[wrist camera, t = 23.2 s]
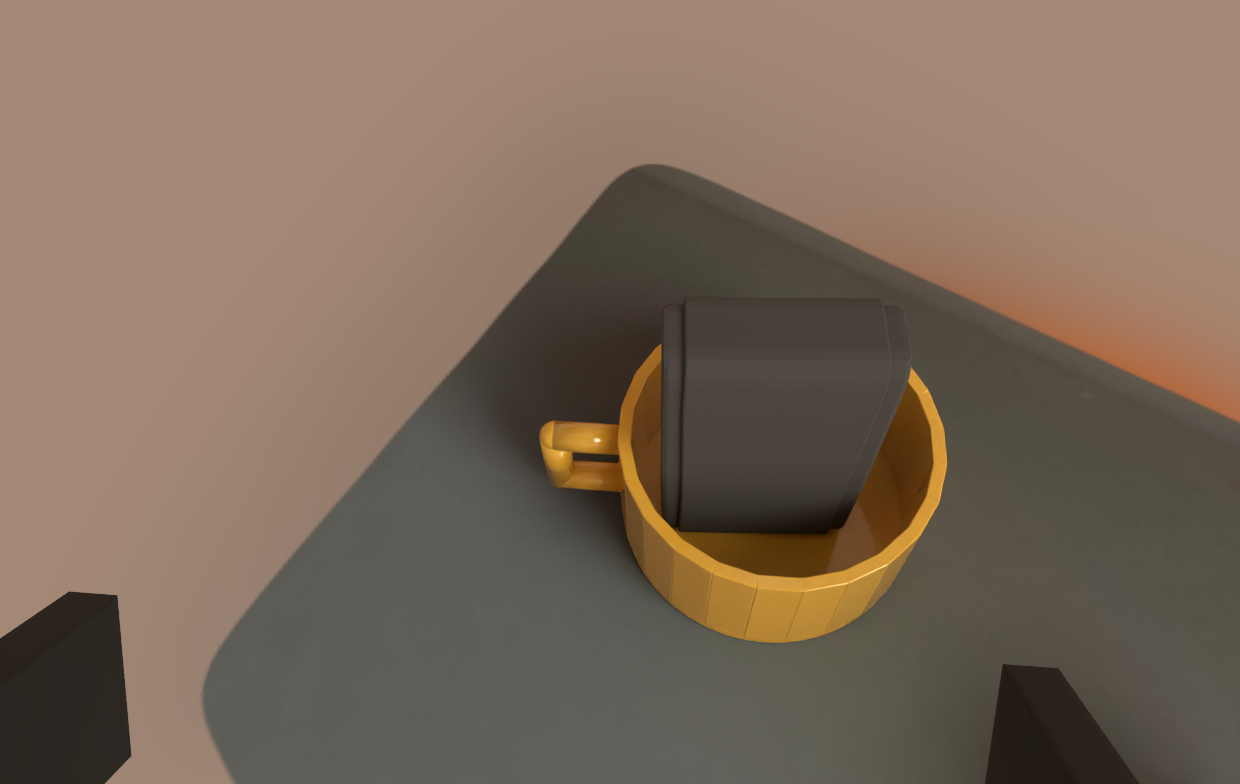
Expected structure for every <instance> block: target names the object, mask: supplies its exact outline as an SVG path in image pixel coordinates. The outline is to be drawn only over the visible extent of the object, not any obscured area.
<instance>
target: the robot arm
mask: <svg viewBox="0 0 1240 784" xmlns="http://www.w3.org/2000/svg"><path fill="white" fill-rule="evenodd" d="M130 757H131V747H130V736H129V724H128V713H127V702H126V690H125V679H124V667H123V656H122V644H121V633H120V621H119V610H118V598H117V595H106V594H93V593H80V592H68V593H66V594H65V595H63V596H62V597H60V598H59V599H57V600H56V601H55V602H53V603H52V604H50V605H49V606H47V607H46V608H44V609H43V610H41V611H40V612H38V613H37V614H35V615H34V616H33V617H31V618H30V619H28V620H27V621H25V622H24V623H22V624H21V625H19V626H18V627H17V628H15V629H13V630H12V631H11V632H9V633H8V634H6V635H5V636H3V637H2V638H0V784H105V783H106V782H107V781H108V780H109V779H110V777H111V776H112V775H113V774H114V773H115V772H116V771H117V770H118V769H119V768H120V767H121V766H122V765H123V764H124V763H125V762H126V761H127V760H128V759H129V758H130ZM985 784H1139V783H1138V781H1137V780H1136V778H1135V777H1134V776H1133V774H1132V773H1131V771H1130V770H1129V768H1128V767H1127V766H1126V764H1125V763H1124V761H1123V760H1122V758H1121V757H1120V756H1119V754H1118V753H1117V751H1116V750H1115V749H1114V747H1113V746H1112V744H1111V743H1110V741H1109V740H1108V739H1107V737H1106V736H1105V734H1104V733H1103V731H1102V730H1101V729H1100V727H1099V726H1098V724H1097V723H1096V721H1095V720H1094V719H1093V717H1092V716H1091V714H1090V713H1089V712H1088V710H1087V709H1086V707H1085V706H1084V704H1083V703H1082V702H1081V700H1080V699H1079V697H1078V696H1077V694H1076V693H1075V692H1074V690H1073V689H1072V687H1071V686H1070V684H1069V683H1068V682H1067V680H1066V679H1065V677H1064V676H1063V674H1062V673H1061V672H1060V670H1059V669H1058V668H1046V667H1033V666H1020V665H1007V664H1003V667H1002V674H1001V681H1000V687H999V694H998V701H997V707H996V714H995V721H994V727H993V734H992V741H991V747H990V754H989V761H988V767H987V774H986V781H985Z"/></svg>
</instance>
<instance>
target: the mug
mask: <svg viewBox="0 0 1240 784" xmlns="http://www.w3.org/2000/svg"><path fill="white" fill-rule="evenodd" d="M621 407H622V408H621V411H620V421H619V424H604V423H588V422H572V421H556V420H555V421H549V422H547V423H545V424H544V425H543V426H542V428H541V430H540V433H539V439H540V444H541V449H542V453H543V458H544V463H545V468H546V473H547V478H548V480H549V482H550V483H551V484H552V485H553V486H555V487H558V488H569V489H584V490H598V491H613V492H620V494H621V507H622V512H623V517H624V526H625V530H626V534H627V538H628V541H629V544H630V547H631V549H632V551H633V554H634V556H635V559H636V561H637V562H638V564H639V566H640V567H641V569H642V571H643V573H644V574H645V576H646V577H647V578H648V580H649V581H650V582H651V584H652V585H653V586H654V587H655V589H656V590H657V591H658V592H659V593H660V594H661V595H662V596H663V597H664V598H665V599H666V600H667V601H668V602H669V603H670V604H671V605H673V606H674V607H675V608H677V609H678V610H679V611H681V612H682V613H683V614H685V615H686V616H687V617H689V618H691V619H693V620H694V621H696V622H698V623H700V624H701V625H703V626H705V627H707V628H710V629H712V630H715V631H717V632H719V633H722V634H725V635H728V636H732V637H736V638H739V639H743V640H750V641H757V642H773V643H785V642H793V641H802V640H807V639H810V638H814V637H818V636H822V635H825V634H827V633H830V632H832V631H835V630H837V629H840V628H842V627H843V626H845V625H847V624H848V623H850V622H852V621H854V620H855V619H857V618H858V617H860V616H861V615H862V614H863V613H865V612H866V611H867V610H868V609H870V608H871V607H872V606H873V605H874V604H875V603H876V602H877V601H878V600H879V599H880V597H881V596H882V595H883V594H884V593H885V592H886V591H887V590H888V589H889V587H890V585H891V584H892V582H893V580H894V579H895V577H896V575H897V574H898V572H899V570H900V569H901V567H902V565H903V564H904V562H905V560H906V559H907V557H908V555H909V554H910V552H911V550H912V549H913V547H914V545H915V544H916V542H917V540H918V539H919V537H920V535H921V534H922V532H923V530H924V528H925V527H926V525H927V523H928V522H929V520H930V518H931V516H932V515H933V513H934V511H935V509H936V508H937V506H938V504H939V502H940V497H941V493H942V488H943V483H944V478H945V474H946V469H947V455H946V445H945V435H944V427H943V425H942V422H941V420H940V417H939V415H938V412H937V410H936V407H935V405H934V402H933V400H932V397H931V395H930V393H929V390H928V389H927V388H926V386H925V385H924V384H923V382H922V381H921V380H920V378H919V377H918V376H917V374H916V373H915V372H914V370H913V369H912V368H911V371H910V376H909V380H908V383H907V386H906V389H905V391H904V394H903V396H902V399H901V401H900V403H899V406H898V408H897V411H896V413H895V415H894V417H893V420H892V422H891V424H890V427H889V429H888V431H887V434H886V436H885V438H884V441H883V443H882V445H881V447H880V450H879V452H878V454H877V457H876V459H875V461H874V464H873V466H872V468H871V471H870V473H869V475H868V477H867V480H866V482H865V484H864V486H863V488H862V490H861V492H860V495H859V497H858V499H857V501H856V503H855V505H854V507H853V509H852V511H851V513H850V515H849V517H848V519H847V521H846V523H845V525H844V526H843V528H840V529H829V531H828V533H827V534H775V533H706V532H680V531H679V529H678V527H671V526H670V525H669V524H668V523H667V522H666V521H665V520H664V519H663V518H662V504H661V482H660V448H661V344H660V345H659V346H657V347H656V348H655V350H654V351H653V352H652V353H651V355H650V356H649V357H648V358H647V360H646V361H645V362H644V363H643V364H642V366H641V367H640V368H639V369H638V371H637V372H636V373H635V375H634V377H633V380H632V382H631V385H630V387H629V389H628V392H627V394H626V396H625V399H624V401H623V404H622V406H621ZM573 452H576V453H592V454H607V455H618V462H619V463H609V462H594V461H579V460H574V459H573Z"/></svg>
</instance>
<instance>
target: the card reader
mask: <svg viewBox="0 0 1240 784" xmlns="http://www.w3.org/2000/svg"><path fill="white" fill-rule="evenodd" d="M911 365H912V347H911V341H910V335H909V328H908V322H907V315H906V313H905V311H904V310H903V309H902V308H901V307H898V306H884V304H883V302H882V301H881V300H880V299H847V298H685V299H684V302H683V305H666V306H664V308H663V310H662V339H661V448H660V482H661V504H662V518H663V519H664V520H665V521H666V522H667V523H668V524H669V525H670V526H671V527H678V529H679V531H680V532H706V533H775V534H827V533H828V531H829V529H840V528H843V526H844V525H845V523H846V521H847V519H848V517H849V515H850V513H851V511H852V509H853V507H854V505H855V503H856V501H857V499H858V497H859V495H860V492H861V490H862V488H863V486H864V484H865V482H866V480H867V477H868V475H869V473H870V471H871V468H872V466H873V464H874V461H875V459H876V457H877V454H878V452H879V450H880V447H881V445H882V443H883V441H884V438H885V436H886V434H887V431H888V429H889V427H890V424H891V422H892V420H893V417H894V415H895V413H896V411H897V408H898V406H899V403H900V401H901V399H902V396H903V394H904V391H905V389H906V386H907V383H908V380H909V376H910V371H911Z"/></svg>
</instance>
